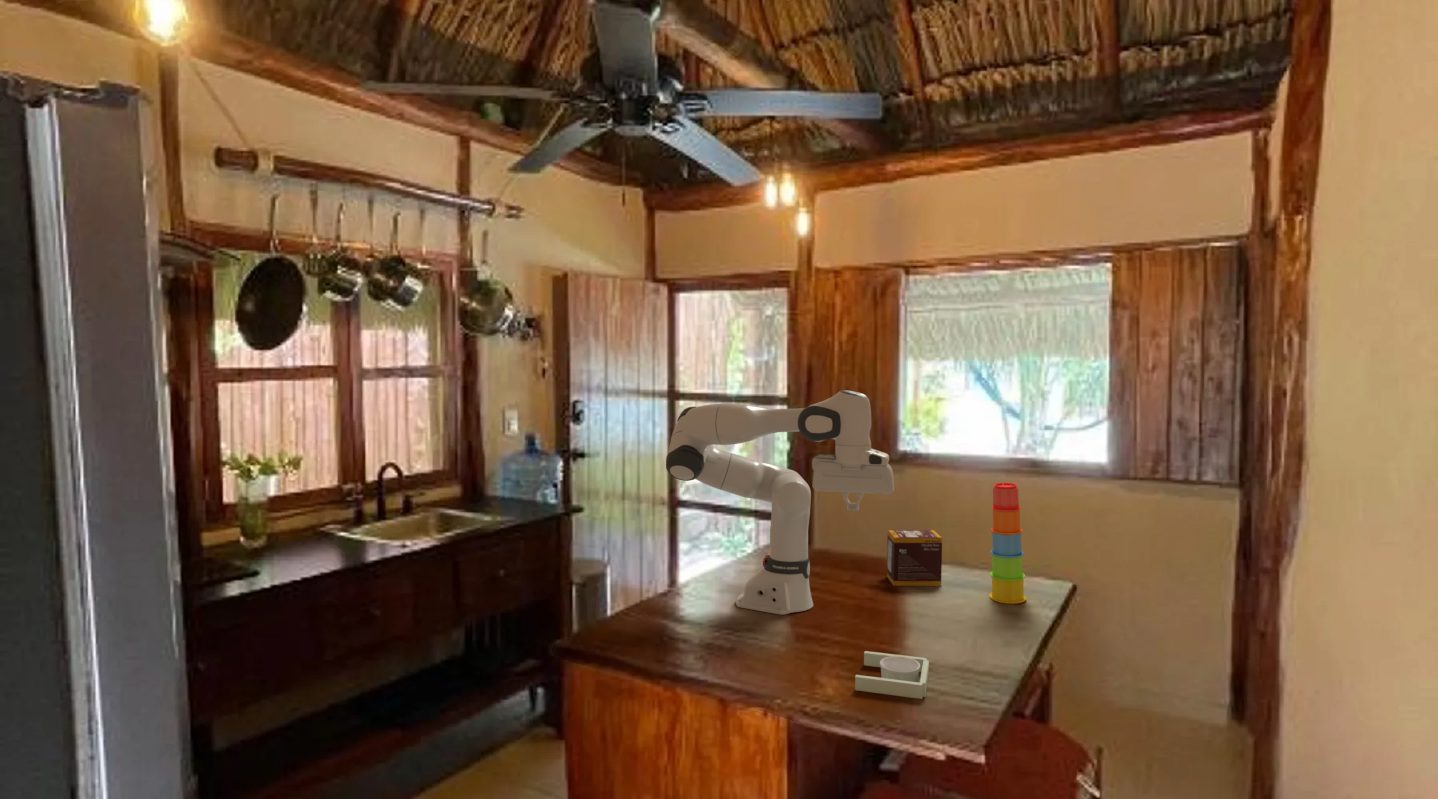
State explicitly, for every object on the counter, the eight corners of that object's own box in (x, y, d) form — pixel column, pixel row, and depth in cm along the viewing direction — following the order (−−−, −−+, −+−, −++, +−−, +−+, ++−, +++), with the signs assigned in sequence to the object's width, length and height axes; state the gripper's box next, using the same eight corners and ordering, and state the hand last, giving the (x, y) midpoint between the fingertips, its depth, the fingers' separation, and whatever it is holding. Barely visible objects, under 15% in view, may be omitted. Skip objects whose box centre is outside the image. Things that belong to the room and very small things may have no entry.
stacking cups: (1026, 605, 227) (1029, 487, 224) (989, 602, 230) (991, 485, 228) (1025, 595, 236) (1027, 481, 234) (989, 592, 240) (991, 480, 237)
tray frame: (855, 690, 171) (855, 676, 171) (864, 663, 186) (864, 651, 185) (924, 699, 166) (925, 685, 166) (929, 671, 181) (929, 658, 181)
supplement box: (942, 586, 246) (942, 537, 245) (893, 586, 246) (893, 537, 245) (933, 576, 256) (934, 529, 255) (886, 576, 257) (887, 529, 256)
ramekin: (911, 694, 169) (911, 674, 169) (873, 684, 174) (873, 665, 174) (925, 680, 176) (926, 661, 176) (888, 671, 182) (889, 652, 181)
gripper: (809, 455, 196) (809, 510, 197) (892, 458, 190) (892, 515, 191) (814, 452, 202) (814, 505, 203) (895, 455, 196) (894, 509, 196)
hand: (852, 510), depth 197 cm, fingers closed
